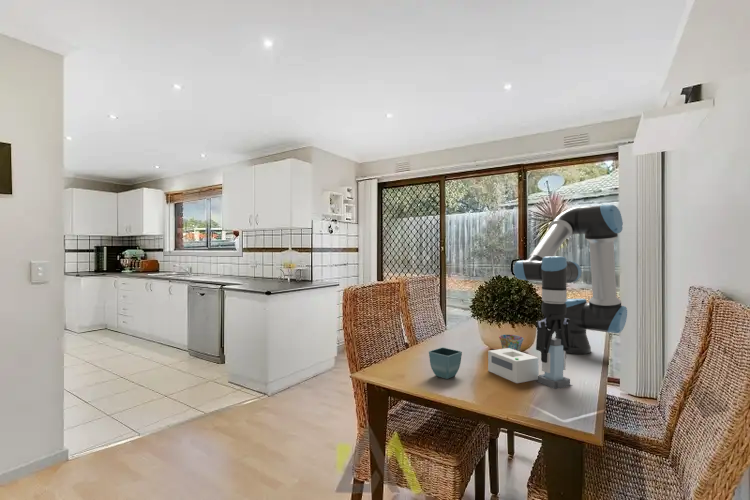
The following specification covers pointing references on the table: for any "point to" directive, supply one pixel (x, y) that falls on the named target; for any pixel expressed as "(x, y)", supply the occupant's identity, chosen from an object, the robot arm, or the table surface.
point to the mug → (511, 341)
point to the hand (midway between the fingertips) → (553, 370)
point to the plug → (555, 360)
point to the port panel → (513, 365)
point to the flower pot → (445, 362)
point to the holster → (554, 382)
